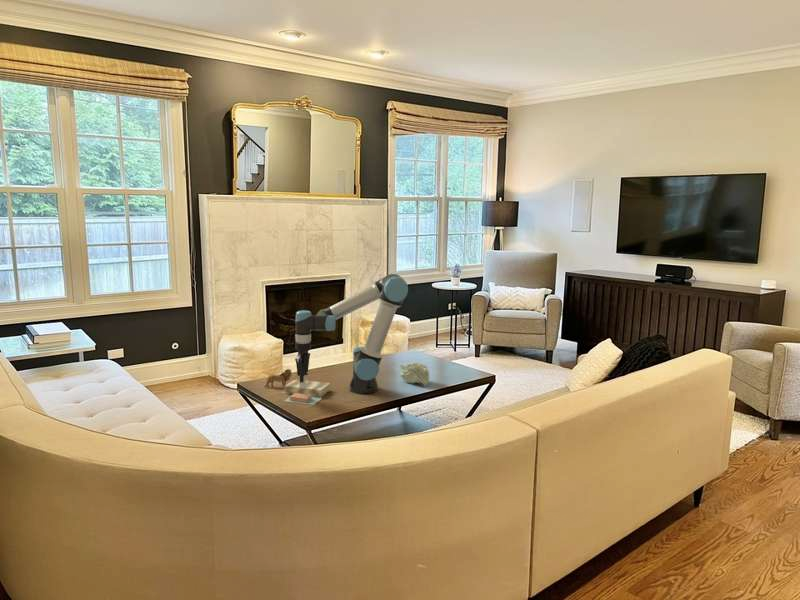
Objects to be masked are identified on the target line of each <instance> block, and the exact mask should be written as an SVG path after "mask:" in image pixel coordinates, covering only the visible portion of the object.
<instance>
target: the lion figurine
mask: <svg viewBox="0 0 800 600" xmlns="http://www.w3.org/2000/svg"><path fill="white" fill-rule="evenodd" d="M292 374H293V373H292V370H291V369H289V368H286V369H285V370H284V371H283V372H282V373H281V374H270V375H269V376H268V377H267V380H266V384H265V386H264V388H266V387H270V386H271V388H272V389H275V388H276V387H275V386H274V383H275V382H279V383H281V385H283V387H284V388H285V385H287V384H286V383H287V381H289V380H290V378H292ZM270 383H271V384H270Z"/></svg>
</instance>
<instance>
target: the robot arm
mask: <svg viewBox="0 0 800 600" xmlns="http://www.w3.org/2000/svg"><path fill="white" fill-rule="evenodd" d="M408 293H409V286H408V283H407V281H406V280H405V279H404V278H403V277H402V276H400V275H399V274H396V273H391V274H387V275H385V276H383V277H382V278H380V279H378V280H377V281H375V282H373V285H371V286H368V287H367V288H365V289H363V290H361V291H359V292H357V293H355V294H353V295H351V296H349V297H347V298H345V299H343V300H341V301H339V302H337V303H335V304H333V305H331V306H329V307H326V308H323V309H320V310H319V311H318V312H317V313H316V314H315V315H313V314H312V312H311V311H310V310H305V309H303V310H298V311H296V313H295V320H294V321H295V322H294V323H295V335H294V337H295V348H294V349H295V350H296V351H297V357H296V358H294V361H295V364H296V365H295V366H296V375H297V377H298V376H299V380H300V388H303V389H305V388H306V381H307V379H306V378H307V376H308V375H309V367H310V357H311V353H310V352H309V351H310V350H312V349H311V348H312V347H311V346H312V331H319V332H320V331H321V332H323V331H324V332H325V331H326V332H329V331H330V332H331V331H335V330H336V321H337V320H338V319H341V318H343V317H345V316H347V315H349V314H350V313H353V312H355V311H358V309H362V308H363V307H365V306H367V305H369V304H372V303H373V302H375V301H377V300H379V302H380V304H379V306H378V309H377V312H376V314H375V318H374V319H373V323H372V325H371V328H370V331H369V334H368V336H367V339H366V342H365V345H364V346H356V347H354V348H353V351H352V354H353V355H352V356H353V358H352V359H353V360H352V362H353V364H352V376H351V380H350V382H349V391H350V392H352V393H354V392H355V394H360V393H368V394H374V393H376V392H377V391H378V390H379V385H378V382H377V376H378V374H379V371H380V364H381V361H382V358H383V355H382V351H383V350H382V349H383V347H384V344H385V341H386V339H387V336H388V334H389V330H390V328H391V326H392V322H393V319H394V318H395V314H396V312H397V309H398V308H400V307H402V304H403V302H404V300H405V298H406V297H407V296H408ZM375 391H376V392H375ZM373 392H374V393H373Z"/></svg>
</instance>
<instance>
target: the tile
mask: <svg viewBox="0 0 800 600" xmlns="http://www.w3.org/2000/svg"><path fill="white" fill-rule="evenodd" d="M289 397H290V401H297V402H305V403H307V402H308V401H309V400H311V399H312V395H308V394H299V393H294V394H290V396H289Z"/></svg>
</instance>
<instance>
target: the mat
mask: <svg viewBox="0 0 800 600" xmlns="http://www.w3.org/2000/svg"><path fill="white" fill-rule="evenodd" d="M322 398H323V397H322ZM322 398H320V397H312V399H311V400H309V401H308V402H307V403H305V402H297V401H290V396H288V398H286V399H284V400H283V403H291V404H292V403H293V404H298V405H299V404H300V405H308V406H315V405H316V404H318V403H319V402H320V401H322V400H323V399H322ZM317 402H318V403H317Z"/></svg>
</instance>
